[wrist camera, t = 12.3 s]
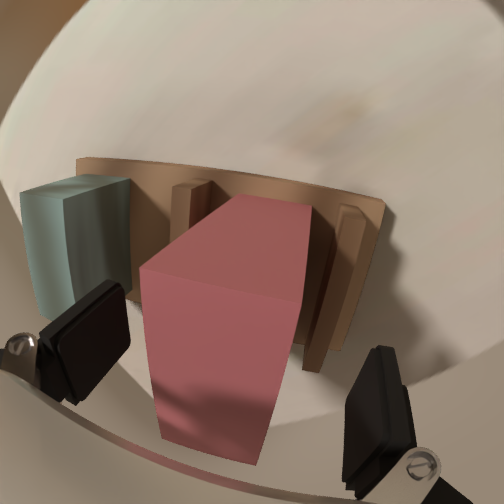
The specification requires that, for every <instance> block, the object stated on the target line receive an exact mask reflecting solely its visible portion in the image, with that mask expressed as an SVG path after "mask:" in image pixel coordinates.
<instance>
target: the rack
mask: <svg viewBox="0 0 504 504" xmlns="http://www.w3.org/2000/svg"><path fill="white" fill-rule="evenodd" d="M239 193H240V194H246V195H253V196H259V197H265V198H271V199H277V200H283V201H289V202H294V203H300V204H305V205H311V206H312V211H311V223H310V234H309V244H308V254H307V264H306V273H305V282H304V290H303V298H302V305H301V309H300V313H299V318H298V322H297V326H296V330H295V334H294V338H293V343H298V344H303V345H305V349H304V358H303V366H302V370H305V371H310V372H316V373H319V372H320V369H321V366H322V364H323V361H324V358H325V356H326V353H327V350H328V349H330V350H336V351H340V350H341V347H342V345H343V342H344V339H345V337H346V334H347V331H348V329H349V326H350V323H351V321H352V318H353V315H354V312H355V309H356V306H357V303H358V300H359V297H360V294H361V291H362V288H363V285H364V282H365V279H366V276H367V272H368V269H369V266H370V262H371V259H372V255H373V252H374V248H375V245H376V241H377V237H378V234H379V230H380V226H381V222H382V218H383V214H384V210H385V206H386V203H385V202H384V201H383V200H382V199H378V198H373V197H369V196H365V195H361V194H356V193H352V192H347V191H343V190H338V189H333V188H328V187H324V186H319V185H313V184H308V183H303V182H298V181H292V180H287V179H281V178H275V177H269V176H263V175H257V174H251V173H244V172H237V171H230V170H223V169H216V168H208V167H200V166H191V165H183V164H173V163H163V162H152V161H141V160H128V159H113V158H94V157H85V158H80V159H76V176H75V177H71V178H67V179H64V180H60V181H56V182H53V183H49V184H46V185H43V186H39V187H36V188H33V189H30V190H26V191H23V192H20V205H21V216H22V225H23V233H24V239H25V246H26V253H27V258H28V264H29V269H30V274H31V279H32V283H33V287H34V292H35V296H36V300H37V304H38V308H39V311H40V315H42V316H44V317H46V318H47V319H50V320H51V321H54V320H55V319H56V318H57V317H59V316H60V315H61V314H62V313H64V312H65V311H66V310H67V309H69V308H70V307H71V306H72V305H74V304H75V303H76V302H77V301H79V300H80V299H81V298H82V297H84V296H85V295H86V294H88V293H89V292H90V291H91V290H93V289H94V288H95V287H97V286H98V285H99V284H101V283H102V282H103V281H105V280H106V279H109V280H112V281H115V282H119V283H120V284H121V285H122V288H124V291H125V299H128V300H131V301H134V302H138V303H141V304H142V301H141V288H140V271H139V267H141V266H142V265H143V264H144V263H146V262H147V261H148V260H150V259H151V258H152V257H153V256H155V255H156V254H157V253H159V252H160V251H161V250H162V249H164V248H165V247H166V246H168V245H169V244H170V243H172V242H173V241H174V240H176V239H177V238H178V237H180V236H181V235H182V234H183V233H185V232H186V231H188V230H189V229H190V228H192V227H193V226H194V225H196V224H197V223H198V222H200V221H201V220H202V219H204V218H205V217H206V216H208V215H209V214H211V213H212V212H213V211H215V210H216V209H218V208H219V207H220V206H222V205H223V204H225V203H226V202H227V201H229V200H230V199H232V198H233V197H234V196H236V195H237V194H239Z"/></svg>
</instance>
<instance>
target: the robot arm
mask: <svg viewBox="0 0 504 504" xmlns="http://www.w3.org/2000/svg"><path fill="white" fill-rule="evenodd" d="M39 335H40V338H39V339H38V340H37V338H36V336H34V335H33V334H31V333H25V332H23V333H18V334H16V335H14V336H12V337H11V338H10V339H9V340H8V341H7V343H6V345H5V348H4V349H0V504H473V503H472V502H471V501H470V500H469V499H467V498H466V497H465V496H464V495H462V494H461V493H460V492H458V491H457V490H456V489H455V488H453V487H452V486H451V485H450V484H448V483H447V482H446V481H445V480H444V479H442V478H441V477H440V473H441V462H440V460H439V458H438V456H437V455H436V454H435V453H434V452H433V451H431V450H429V449H427V448H423V447H417V442H416V436H415V430H414V423H413V417H412V412H411V406H410V400H409V395H408V390H407V388H406V386H405V385H402V383H401V378H400V373H399V368H398V363H397V359H396V355H395V350H394V348H393V347H387V346H381V345H378V346H377V347H376V349H374V348H372V349H371V350H370V352H369V354H368V357H367V359H366V361H365V363H364V365H363V367H362V369H361V371H360V373H359V375H358V377H357V379H356V381H355V383H354V385H353V387H352V389H351V391H350V393H349V395H348V396H347V399H346V403H345V429H344V452H343V468H342V482H346V490H353V491H355V497H356V499H355V500H351V499H342V498H333V497H326V496H317V495H310V494H303V493H296V492H290V491H285V490H279V489H273V488H269V487H264V486H259V485H255V484H250V483H246V482H242V481H238V480H234V479H230V478H227V477H223V476H220V475H216V474H213V473H210V472H207V471H203V470H200V469H197V468H194V467H191V466H188V465H185V464H183V463H180V462H177V461H174V460H172V459H169V458H167V457H164V456H162V455H159V454H157V453H154V452H152V451H149V450H147V449H145V448H143V447H140V446H138V445H136V444H133V443H132V442H129V441H127V440H125V439H123V438H121V437H119V436H117V435H115V434H113V433H111V432H109V431H107V430H105V429H103V428H101V427H99V426H97V425H96V424H94V423H92V422H90V421H89V420H87V419H85V418H83V417H81V416H80V415H78V414H76V413H75V412H73V411H72V410H70V409H68V408H67V407H65V406H63V405H62V400H63V399H64V398H65V399H66V400H67V401H69V402H71V403H72V404H74V405H75V406H76V405H77V404H78V403H79V402H80V401H83V400H85V399H86V397H87V396H88V395H89V394H90V392H91V391H92V390H93V389H94V388H95V387H96V386H97V384H98V383H99V382H100V381H101V380H102V378H103V377H104V376H105V375H106V374H107V372H108V371H109V370H110V369H111V368H112V367H113V365H114V364H115V363H116V362H117V361H118V360H119V358H120V357H121V356H122V355H123V354H124V353H125V351H126V350H127V349H128V348H129V346H130V342H131V339H130V332H129V325H128V317H127V309H126V300H125V291H124V288H122V285H121V284H120V283H119V282H115V281H112V280H109V279H106V280H105V281H103V282H102V283H101V284H99V285H98V286H97V287H95V288H94V289H93V290H91V291H90V292H89V293H88V294H86V295H85V296H84V297H82V298H81V299H80V300H79V301H77V302H76V303H75V304H74V305H72V306H71V307H70V308H69V309H67V310H66V311H65V312H64V313H62V314H61V315H60V316H59V317H57V318H56V319H55V320H54V321H52V322H51V323H50V324H49V325H48V326H46V327H45V328H44V329H43V330H42V331H40V332H39Z"/></svg>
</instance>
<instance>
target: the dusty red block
mask: <svg viewBox="0 0 504 504" xmlns="http://www.w3.org/2000/svg"><path fill="white" fill-rule="evenodd" d="M311 211H312V206H311V205H305V204H300V203H294V202H289V201H283V200H277V199H271V198H265V197H259V196H253V195H246V194H240V193H239V194H237V195H236V196H234V197H233V198H232V199H230V200H229V201H227V202H226V203H225V204H223V205H222V206H220V207H219V208H218V209H216V210H215V211H213V212H212V213H211V214H209V215H208V216H206V217H205V218H204V219H202V220H201V221H200V222H198V223H197V224H196V225H194V226H193V227H192V228H190V229H189V230H188V231H186V232H185V233H183V234H182V235H181V236H180V237H178V238H177V239H176V240H174V241H173V242H172V243H170V244H169V245H168V246H166V247H165V248H164V249H162V250H161V251H160V252H159V253H157V254H156V255H155V256H153V257H152V258H151V259H150V260H148V261H147V262H146V263H144V264H143V265H142V266H141V267H139V271H140V288H141V301H142V313H143V323H144V333H145V341H146V349H147V357H148V364H149V371H150V378H151V384H152V390H153V396H154V401H155V407H156V413H157V418H158V422H159V427H160V432H161V436H162V439H165V440H168V441H170V442H173V443H176V444H179V445H182V446H185V447H188V448H191V449H194V450H197V451H201V452H204V453H207V454H211V455H215V456H218V457H222V458H225V459H229V460H233V461H237V462H242V463H246V464H251V465H255V466H256V464H257V461H258V458H259V455H260V452H261V449H262V446H263V443H264V440H265V436H266V433H267V430H268V427H269V424H270V420H271V417H272V414H273V410H274V407H275V404H276V400H277V397H278V393H279V390H280V386H281V383H282V379H283V375H284V372H285V368H286V364H287V361H288V357H289V353H290V349H291V345H292V342H293V338H294V334H295V330H296V326H297V322H298V318H299V313H300V309H301V305H302V298H303V290H304V282H305V273H306V264H307V254H308V244H309V234H310V223H311Z"/></svg>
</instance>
